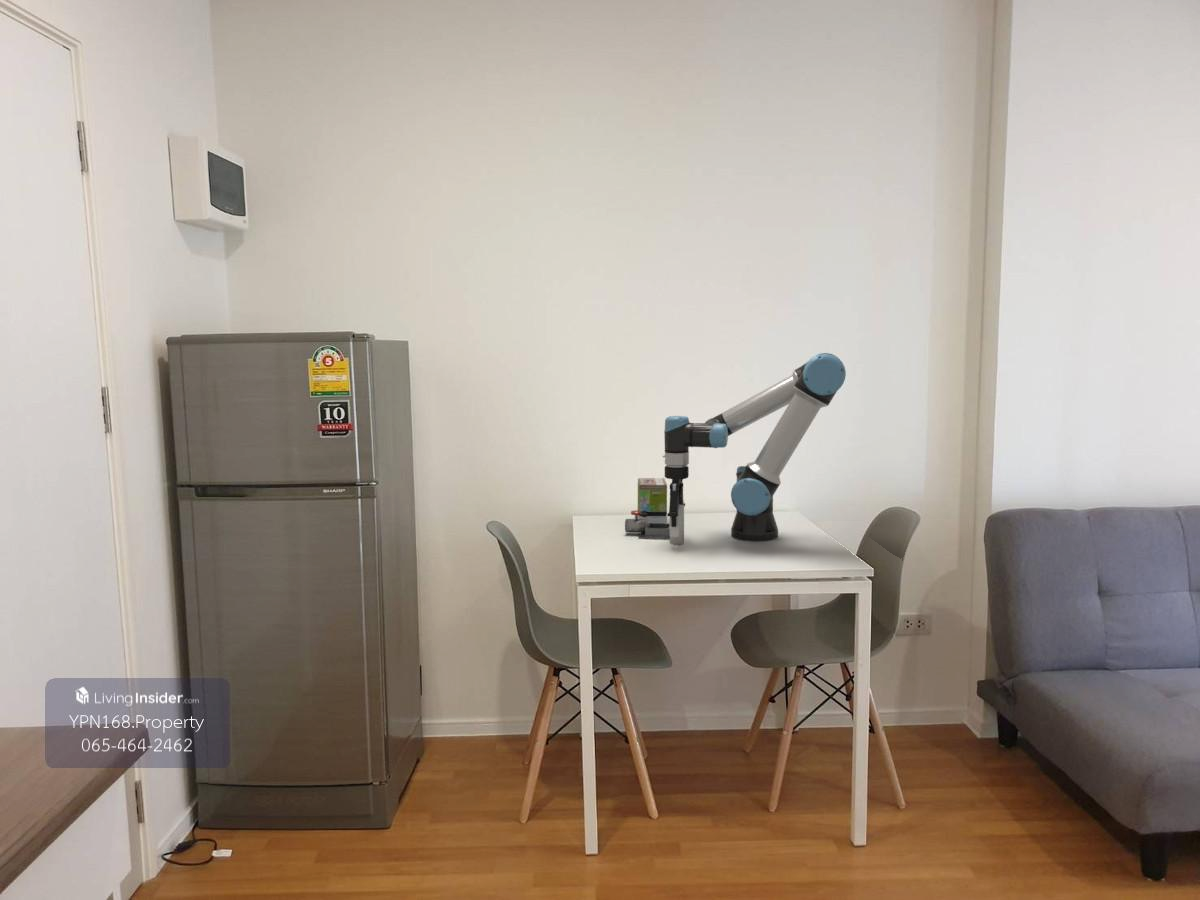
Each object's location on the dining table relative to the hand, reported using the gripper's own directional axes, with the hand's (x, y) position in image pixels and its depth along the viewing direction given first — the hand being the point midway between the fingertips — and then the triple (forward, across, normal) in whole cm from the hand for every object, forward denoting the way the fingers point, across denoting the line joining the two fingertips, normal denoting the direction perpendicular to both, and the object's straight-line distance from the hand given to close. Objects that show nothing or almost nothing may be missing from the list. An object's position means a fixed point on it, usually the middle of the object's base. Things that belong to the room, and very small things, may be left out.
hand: (676, 531), depth 271 cm
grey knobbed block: (+4, -10, -9) cm, 14 cm away
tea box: (+4, -30, -12) cm, 32 cm away
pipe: (+4, 0, 0) cm, 4 cm away
